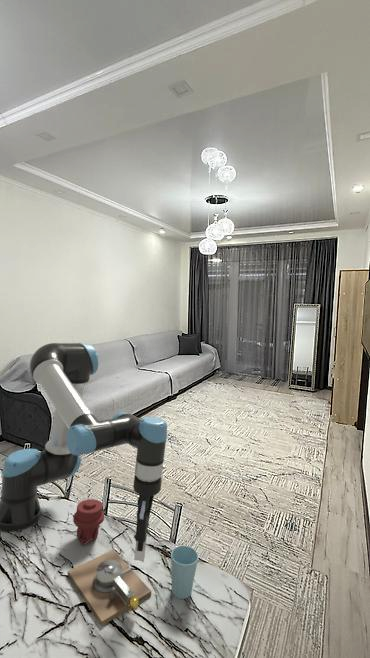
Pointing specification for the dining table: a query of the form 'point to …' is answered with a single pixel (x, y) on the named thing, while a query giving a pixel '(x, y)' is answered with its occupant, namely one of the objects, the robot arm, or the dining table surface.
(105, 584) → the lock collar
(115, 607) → the post board
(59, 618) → the dining table surface
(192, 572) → the cup
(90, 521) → the mechanical component
